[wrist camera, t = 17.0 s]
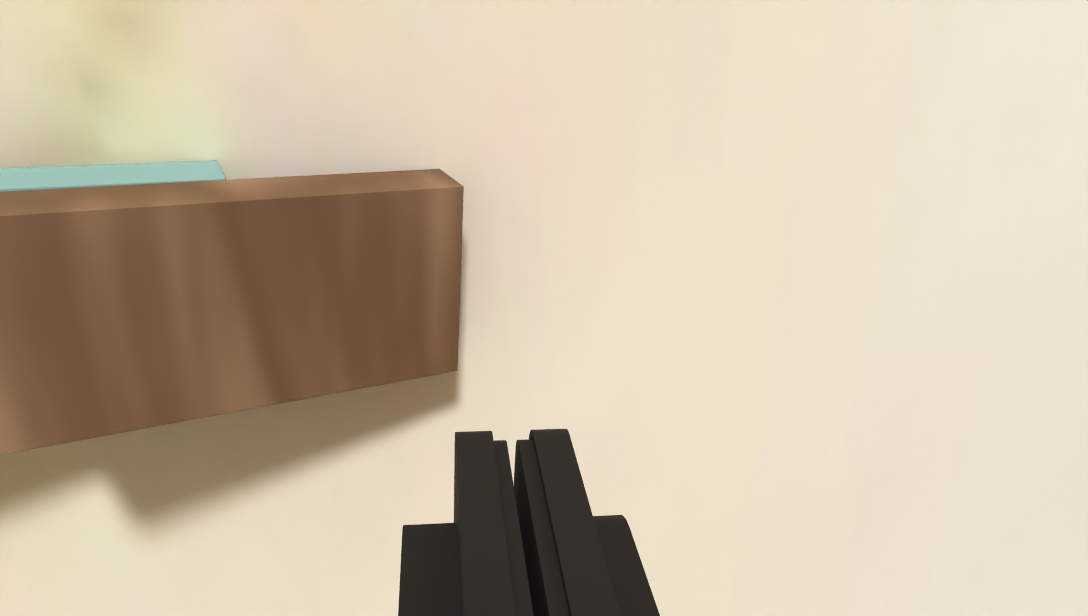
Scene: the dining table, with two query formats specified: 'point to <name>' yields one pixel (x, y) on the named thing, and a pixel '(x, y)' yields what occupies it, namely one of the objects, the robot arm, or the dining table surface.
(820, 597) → the dining table surface
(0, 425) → the domino
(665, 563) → the dining table surface
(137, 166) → the domino
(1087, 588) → the dining table surface
